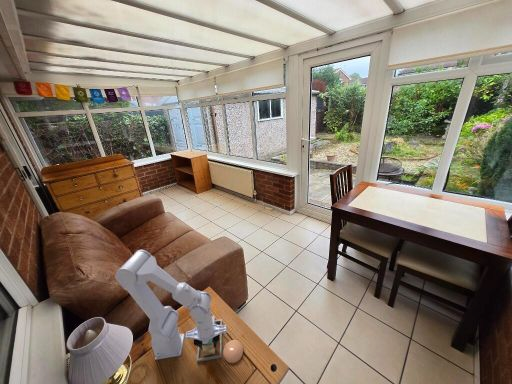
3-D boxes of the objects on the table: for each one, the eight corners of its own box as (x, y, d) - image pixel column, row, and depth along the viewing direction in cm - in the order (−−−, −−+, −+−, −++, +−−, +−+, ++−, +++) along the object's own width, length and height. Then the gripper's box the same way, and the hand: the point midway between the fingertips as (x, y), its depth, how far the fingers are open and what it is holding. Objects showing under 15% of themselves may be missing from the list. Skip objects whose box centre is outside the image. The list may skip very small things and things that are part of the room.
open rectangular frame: (196, 362, 75) (196, 360, 75) (201, 323, 89) (200, 322, 88) (221, 357, 76) (221, 356, 76) (222, 320, 90) (221, 319, 89)
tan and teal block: (204, 356, 77) (202, 346, 75) (205, 345, 81) (203, 335, 78) (214, 354, 77) (213, 344, 75) (215, 343, 81) (213, 333, 79)
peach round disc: (223, 365, 74) (223, 363, 74) (223, 343, 81) (223, 341, 81) (243, 361, 75) (243, 359, 75) (242, 339, 82) (242, 338, 82)
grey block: (205, 336, 84) (203, 326, 82) (206, 326, 88) (204, 317, 85) (215, 334, 84) (214, 324, 82) (216, 325, 88) (214, 315, 86)
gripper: (181, 338, 69) (188, 361, 74) (224, 330, 70) (228, 354, 75) (185, 318, 75) (191, 341, 80) (224, 312, 77) (228, 335, 82)
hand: (209, 346), depth 78 cm, fingers closed on tan and teal block, 4 cm apart
